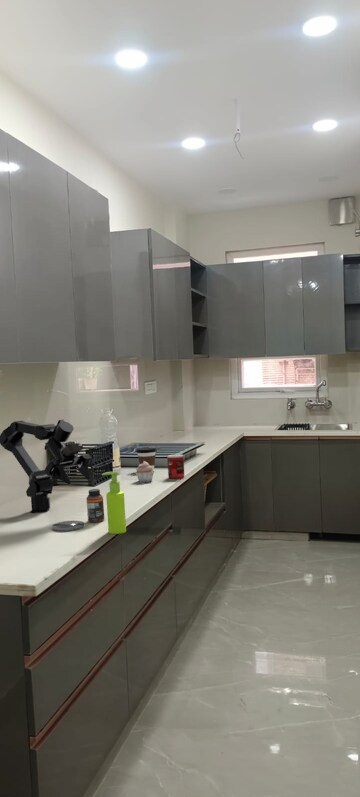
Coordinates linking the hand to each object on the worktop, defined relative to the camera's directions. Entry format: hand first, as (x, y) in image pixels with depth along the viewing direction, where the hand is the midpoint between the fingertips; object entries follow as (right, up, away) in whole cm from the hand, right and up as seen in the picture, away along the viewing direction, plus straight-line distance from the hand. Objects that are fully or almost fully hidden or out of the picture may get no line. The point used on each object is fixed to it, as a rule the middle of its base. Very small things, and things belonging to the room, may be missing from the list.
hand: (80, 481), depth 225 cm
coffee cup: (+20, -8, +100) cm, 102 cm away
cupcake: (+20, -10, +70) cm, 73 cm away
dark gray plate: (-2, -14, -12) cm, 19 cm away
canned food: (+35, -9, +76) cm, 84 cm away
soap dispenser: (+15, -14, -21) cm, 30 cm away
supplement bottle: (+7, -14, -5) cm, 16 cm away
